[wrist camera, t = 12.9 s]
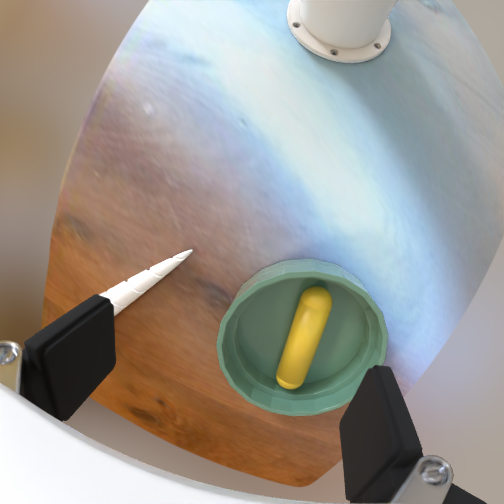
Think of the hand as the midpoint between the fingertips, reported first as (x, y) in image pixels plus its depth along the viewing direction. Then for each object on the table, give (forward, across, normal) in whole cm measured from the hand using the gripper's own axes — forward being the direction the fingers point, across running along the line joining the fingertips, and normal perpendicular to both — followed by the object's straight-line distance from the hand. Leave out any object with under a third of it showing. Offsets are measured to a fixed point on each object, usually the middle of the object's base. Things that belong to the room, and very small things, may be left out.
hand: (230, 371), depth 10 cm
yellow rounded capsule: (+23, -6, +11) cm, 26 cm away
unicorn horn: (+24, +18, +12) cm, 32 cm away
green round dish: (+24, -6, +10) cm, 26 cm away
